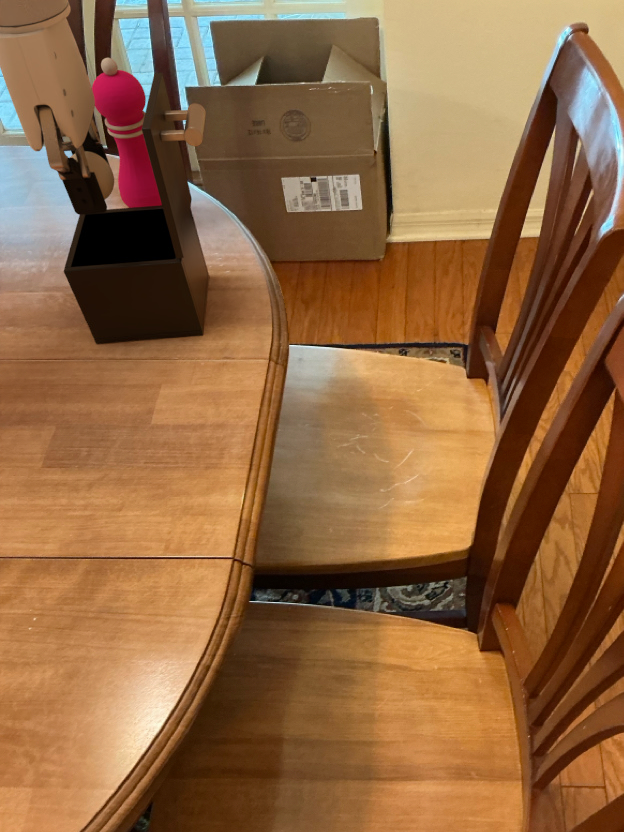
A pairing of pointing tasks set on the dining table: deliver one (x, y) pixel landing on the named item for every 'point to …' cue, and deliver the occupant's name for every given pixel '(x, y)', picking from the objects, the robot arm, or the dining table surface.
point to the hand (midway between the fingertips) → (95, 195)
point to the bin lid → (171, 156)
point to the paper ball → (100, 172)
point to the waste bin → (136, 276)
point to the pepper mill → (127, 132)
